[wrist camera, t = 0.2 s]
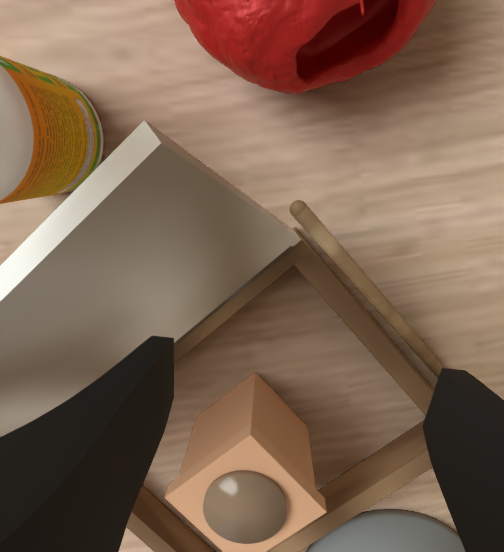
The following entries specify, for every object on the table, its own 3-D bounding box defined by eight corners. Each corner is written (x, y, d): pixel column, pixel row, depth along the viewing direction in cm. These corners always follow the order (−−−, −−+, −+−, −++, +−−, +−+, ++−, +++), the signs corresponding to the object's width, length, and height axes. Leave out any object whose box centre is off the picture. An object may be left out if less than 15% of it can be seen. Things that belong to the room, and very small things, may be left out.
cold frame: (218, 572, 27) (172, 926, 15) (-12, 364, 24) (-326, 592, 11) (475, 404, 23) (715, 696, 11) (241, 125, 20) (188, 69, 7)
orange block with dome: (247, 473, 25) (240, 574, 19) (190, 416, 24) (162, 503, 18) (313, 427, 24) (327, 517, 18) (255, 365, 23) (249, 439, 17)
